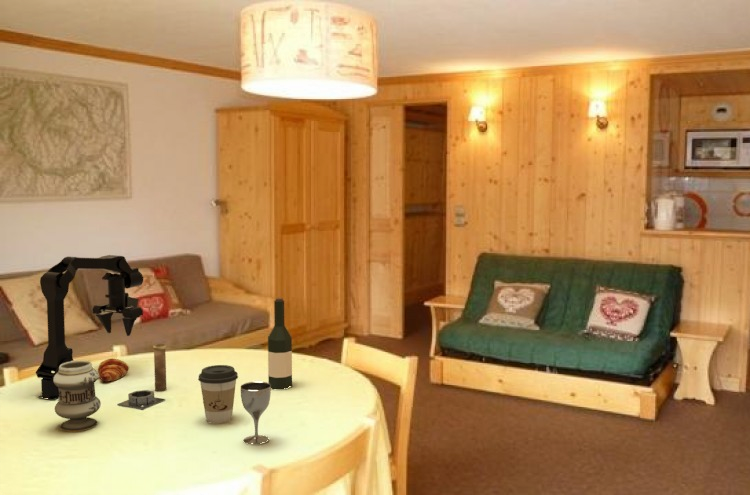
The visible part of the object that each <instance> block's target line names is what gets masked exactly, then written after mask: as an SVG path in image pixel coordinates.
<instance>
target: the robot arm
mask: <svg viewBox="0 0 750 495" xmlns="http://www.w3.org/2000/svg"><path fill="white" fill-rule="evenodd" d="M80 269H81V270H82V269H83V270H84V269H85V270H89V269H90V270H97V269H98V270H102V271H105V274H104V275H103V276H102V278H101V280H103V281H106V282H107V285H106V286H107V293H106V294H105V298H107V300H108V301H107V302H108V303H107V302H103V303H99V304H95V305H93V306H92V314H94V315H95V316H96V317H97V319H98V320H99V321H100V322H101V324H102V326H103V327H104V329H105V331H106V333H108V334H111V333H112V316H113V314H114V313H115V314H121V315H122V316H123V317H122V318H121V319H122V324H123V327H124V330H125V334H126V336H127V337H129V336H131V334H132V331H133V327H134V324H135V322H136V320H137V319H138V318H140V317H141V316H144V309H143V308H142V307H141V306H139V301H140V299H139V298H135V297H132V296H129V292H126V290H127V289H131V288H137V287H140V286H142V284H144V276H143V274H142V272H141V271H140V270H139V268H138V267H131V266H130V265H129V263H128V262H127V259H126V257H125V256H124V255H116V254H115V255H113V254H109V255H108V254H107V255H103V256H100V257H78V256H65V257H64V258H63V259H61V260H60V261H59V262H58V263H57V264H55V265H53V266H52V267H51V268H49V269H48V270H47V271H46V272H45V273H43V274H42V276H40V280H39V282H40V284H39V285H40V288H41V292H42V295H43V297H44V298H45V300H46V309H47V310H46V311H47V313H46V314H47V315H46V316H47V340H48V341H47V342H48V344H47V347H46V349H45V350H44V352H43V358H42V362H41V364H40V365H39V366H38V368H37V370H36V371H35V374H36V377H37V378H38V379H39V378H40V379H41V380H40V382H41V394H39V395H38V398H39V397H43V398H42V399H44V398H48V399H47V400H49V399H54V400H56V399H55V398H57V399H59V389H58V386H56V385H55V384H54V381H53V379H54V376H55V375H56V374H57V373H58V371H59V366H60V365H61V364H63V363H66V362H71V361H74V359H73V352H74V351H73V348H70V347H67V345H66V335H65V334H66V333H65V332H66V330H65V329H66V328H65V298H67V297H66V296H67V295H68V293H69V289H70V284H71V282H72V281H73V280H74V279H75V277H76V275H77V274H76V273H77V271H78V270H80Z"/></svg>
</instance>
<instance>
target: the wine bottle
mask: <svg viewBox="0 0 750 495" xmlns="http://www.w3.org/2000/svg"><path fill="white" fill-rule="evenodd" d="M283 298H284V297H276V298H275V299H274V304H273V305H274V326H273V328H272V329H271V331H270V333H269V334H268V336H267V359H268V360H267V361H268V362H267V366H268V367H267V368H268V369H267V370H268V372H267V374H268V377H267V378H268V382H267V383H269V384H270V385H271V388H272V389H271V390H274V389H284V388H288V387H289V386H292V387H293V351H292V350H293V349H292V348H293V344H292V342H293V340H292V339H293V338H292V336H291V334H290V332H289V330H288V329H287V327H286V326H285V300H284V299H283ZM288 389H289V388H288Z"/></svg>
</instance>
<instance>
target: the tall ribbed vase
mask: <svg viewBox="0 0 750 495" xmlns="http://www.w3.org/2000/svg"><path fill="white" fill-rule="evenodd" d="M152 347H153V360H154V361H153V363H154V364H153V365H154V390H155V391H154V392H164V391H167V390H168V389H167V365H166V364H167V362H166V361H167V360H166V358H167V356H166V349H167V346H166V344H165V343H158V344H154V345H152Z"/></svg>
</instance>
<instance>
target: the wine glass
mask: <svg viewBox="0 0 750 495" xmlns="http://www.w3.org/2000/svg"><path fill="white" fill-rule="evenodd" d="M271 391H272V389H271V385H270V384H269V382H267V381H249V382H245V383H243V384H241V385H240V398H241V403H242V406H243V408H244V410H246V412H247V413H248V414H249V415H250V416H251V418H252V421H253V424H254V434H253V435H249V436H247V437H245V438H244V439H243V441H244V442H245V443H248V444H260V443H262V442H266V441H267V440H269V439H268V437H269V436H267V435H264V436H263V434H259V421H260V418H261V416H262V415H263V413H264V412H265V411H266V410H267V408H268V407H269V404H270V401H271V393H272V392H271ZM266 436H267V437H266ZM243 441H242V442H243ZM244 442H243V443H244ZM245 443H244V444H245ZM248 444H247V445H248Z"/></svg>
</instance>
